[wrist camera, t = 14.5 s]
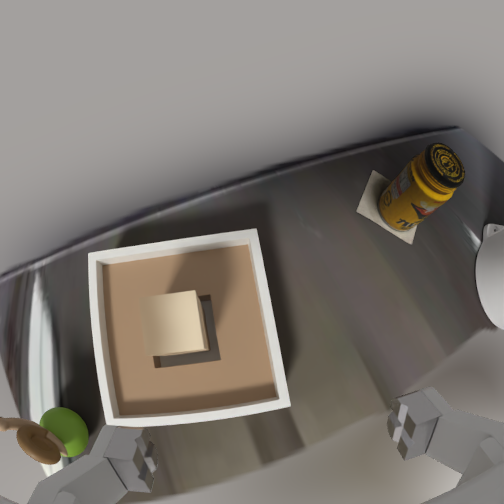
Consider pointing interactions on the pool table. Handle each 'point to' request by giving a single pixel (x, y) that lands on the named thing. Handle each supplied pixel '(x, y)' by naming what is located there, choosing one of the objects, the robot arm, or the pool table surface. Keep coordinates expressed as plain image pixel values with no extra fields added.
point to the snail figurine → (50, 435)
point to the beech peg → (173, 324)
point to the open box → (218, 325)
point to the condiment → (412, 191)
